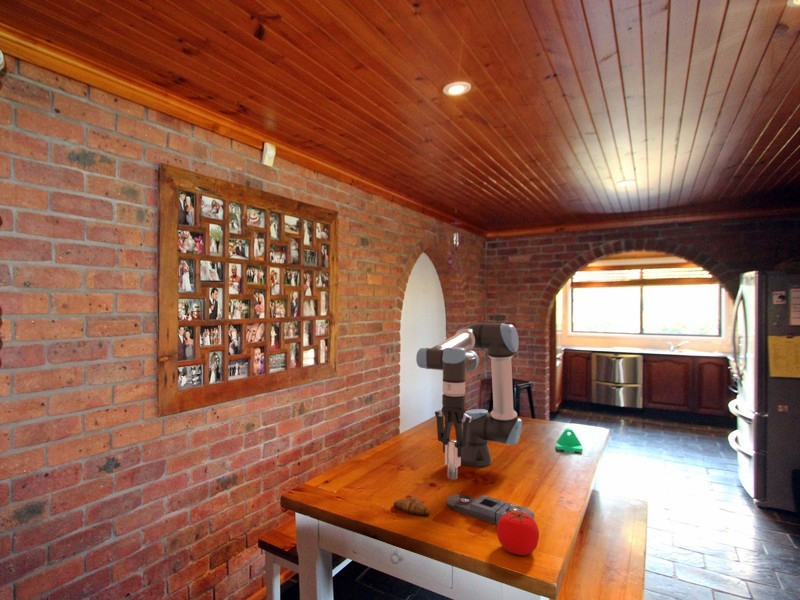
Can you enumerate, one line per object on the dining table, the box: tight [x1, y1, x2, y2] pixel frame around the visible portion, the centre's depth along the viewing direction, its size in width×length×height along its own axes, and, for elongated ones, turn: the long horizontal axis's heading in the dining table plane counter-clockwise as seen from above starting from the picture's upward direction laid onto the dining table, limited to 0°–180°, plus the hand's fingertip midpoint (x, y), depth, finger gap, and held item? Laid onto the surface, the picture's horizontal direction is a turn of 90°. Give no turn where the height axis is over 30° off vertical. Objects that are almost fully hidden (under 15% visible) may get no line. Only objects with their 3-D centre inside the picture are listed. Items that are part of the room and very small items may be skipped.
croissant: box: [393, 496, 430, 517], centre depth 147 cm, size 14×7×5 cm, turn 60°
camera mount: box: [555, 427, 584, 454], centre depth 216 cm, size 12×8×10 cm, turn 72°
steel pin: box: [447, 439, 458, 480], centre depth 142 cm, size 3×3×12 cm
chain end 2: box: [470, 494, 535, 526], centre depth 142 cm, size 20×9×5 cm, turn 53°
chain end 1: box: [446, 493, 496, 525], centre depth 149 cm, size 20×9×3 cm, turn 53°
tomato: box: [496, 511, 540, 556], centre depth 124 cm, size 12×12×10 cm
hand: (452, 464), depth 142 cm, fingers closed on steel pin, 3 cm apart
